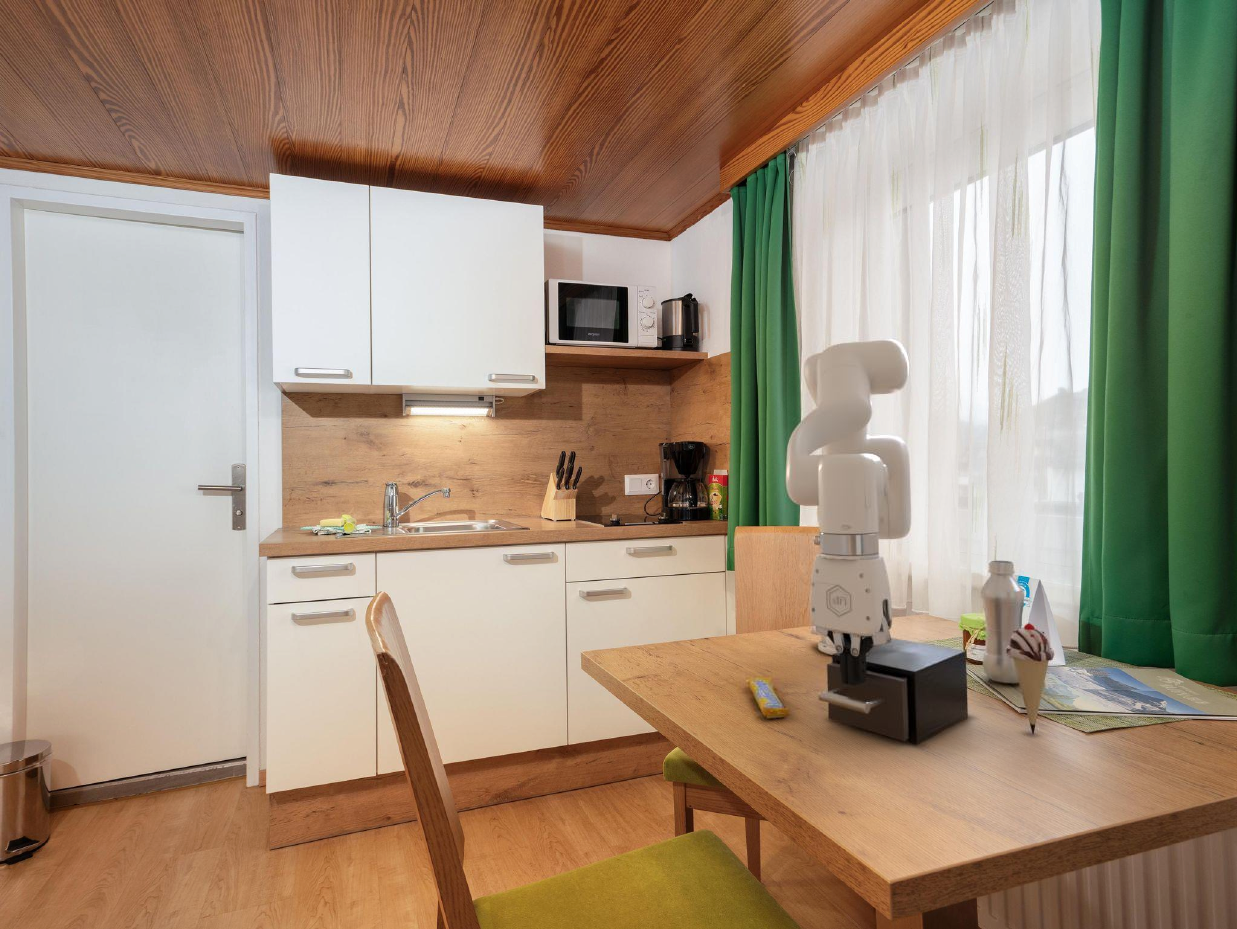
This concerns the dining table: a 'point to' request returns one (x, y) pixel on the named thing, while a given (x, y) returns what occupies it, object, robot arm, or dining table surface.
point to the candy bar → (766, 697)
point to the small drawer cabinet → (925, 683)
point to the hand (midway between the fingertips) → (853, 682)
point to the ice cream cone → (1030, 666)
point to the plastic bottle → (1001, 620)
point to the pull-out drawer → (870, 702)
